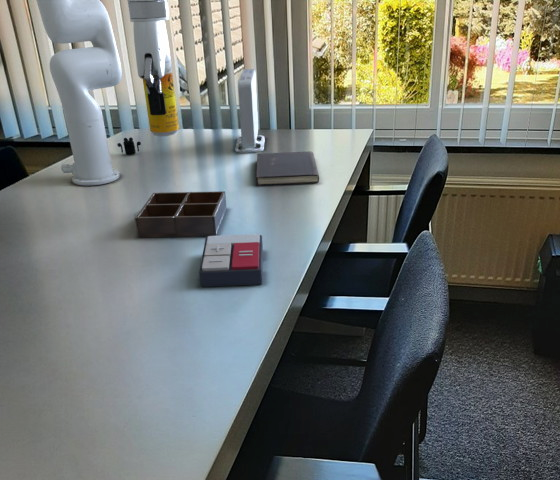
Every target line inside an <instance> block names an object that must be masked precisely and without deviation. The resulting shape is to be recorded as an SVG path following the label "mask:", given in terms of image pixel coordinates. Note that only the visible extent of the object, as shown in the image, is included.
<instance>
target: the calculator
mask: <svg viewBox="0 0 560 480" xmlns="http://www.w3.org/2000/svg"><path fill="white" fill-rule="evenodd" d="M263 245H264V243H263V235H262V234H259V233H250V234H248V233H247V234H221V235H217V236H205V239H204V245H203V251H202V256H201V261H200V266H199V271H198V272H199V281H200V287H202V288H212V287H236V286H237V287H238V286H261V285H262V284H263V266H264V265H263V264H264V263H263V261H264V246H263Z"/></svg>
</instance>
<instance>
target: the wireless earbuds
mask: <svg viewBox="0 0 560 480" xmlns="http://www.w3.org/2000/svg"><path fill="white" fill-rule="evenodd" d="M141 145H142V142H141V141H137V142H136V144H135V142H134V138H133V137H131V136H130V137H129V138H127V137H124V138H123V144H122V143H121V142H118V143H117V147H118V148H120V150H121V153H125V155H127V156H131V155H136V149H137V152H140V148H139V146H141ZM123 148H124V149H123Z"/></svg>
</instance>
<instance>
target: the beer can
mask: <svg viewBox="0 0 560 480" xmlns="http://www.w3.org/2000/svg"><path fill="white" fill-rule="evenodd" d="M165 56H166V57H165V75H164V76H163V77H162V78H161V84H162V93H164V99H165V107H166V114H165V115H151V114H150V108H149V101H148V94H147V86H146V81H145V78H143V79H142V82H143V91H144V98H145V104H146V105H145V106H146V111H147V117H148V124H149V131H150V132H151V133H152V134H153V136H155V137H169V136H173V135H176V134H178V131H179V130H180V124H179V123H180V122H179V116H178V115H179V114H178V109H177V108H178V107H177V100H176V92H175V83H174V76H173V75H174V74H173V67H172V59H171V60H170V58H169V56H168V54H167V55H165ZM157 72H158V70H157ZM144 73H145V70H144ZM157 74H158V73H153V74H152V75H153V76H158V75H157ZM156 83H157V81H156ZM157 86H158V85H157Z"/></svg>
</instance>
